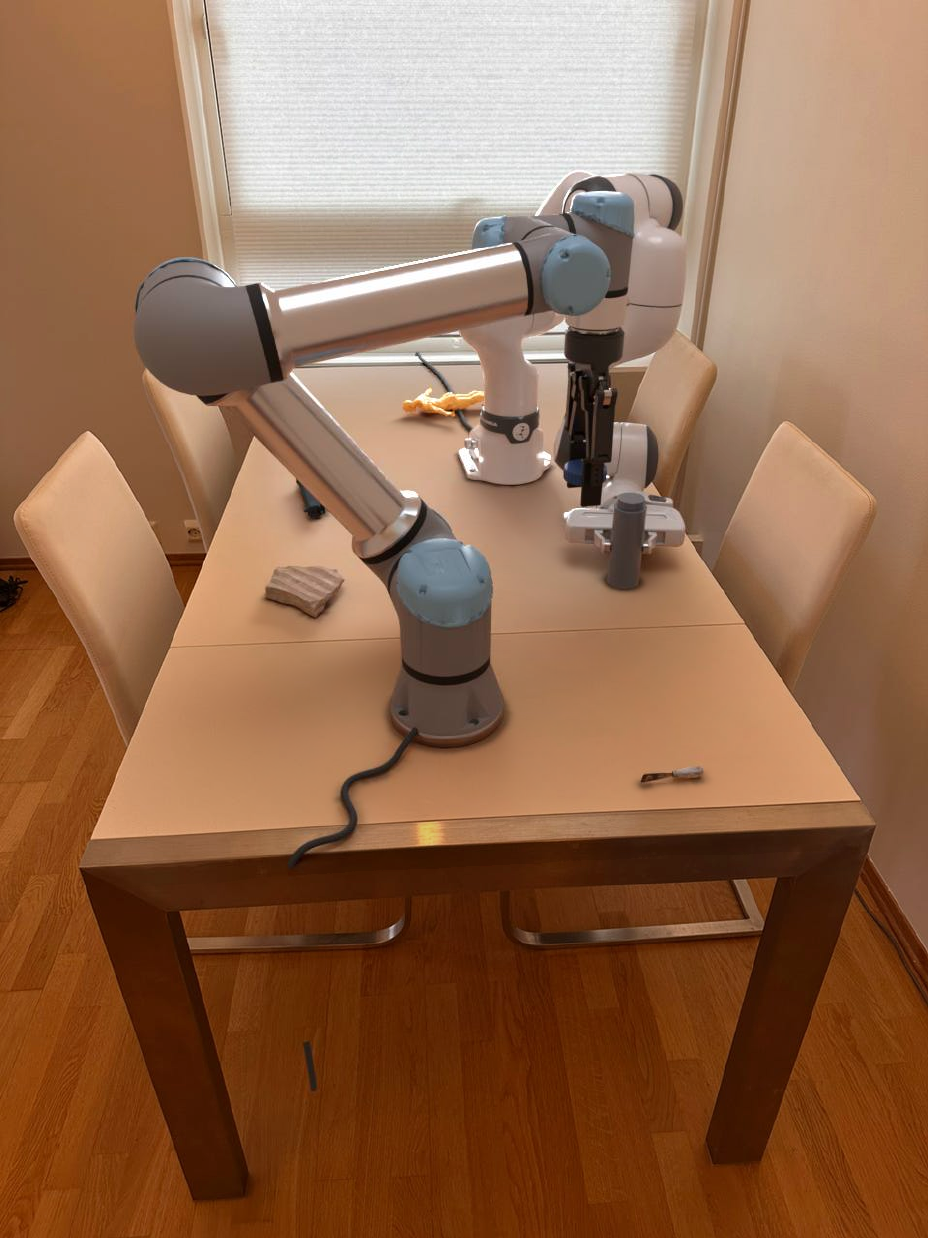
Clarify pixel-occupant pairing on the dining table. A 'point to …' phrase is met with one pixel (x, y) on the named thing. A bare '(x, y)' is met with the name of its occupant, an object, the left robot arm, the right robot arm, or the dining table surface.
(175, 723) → the dining table surface
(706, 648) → the dining table surface
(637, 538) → the grey tall cylinder
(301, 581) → the stone
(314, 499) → the handgun
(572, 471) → the lid
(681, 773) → the putty knife
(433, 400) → the human figure
